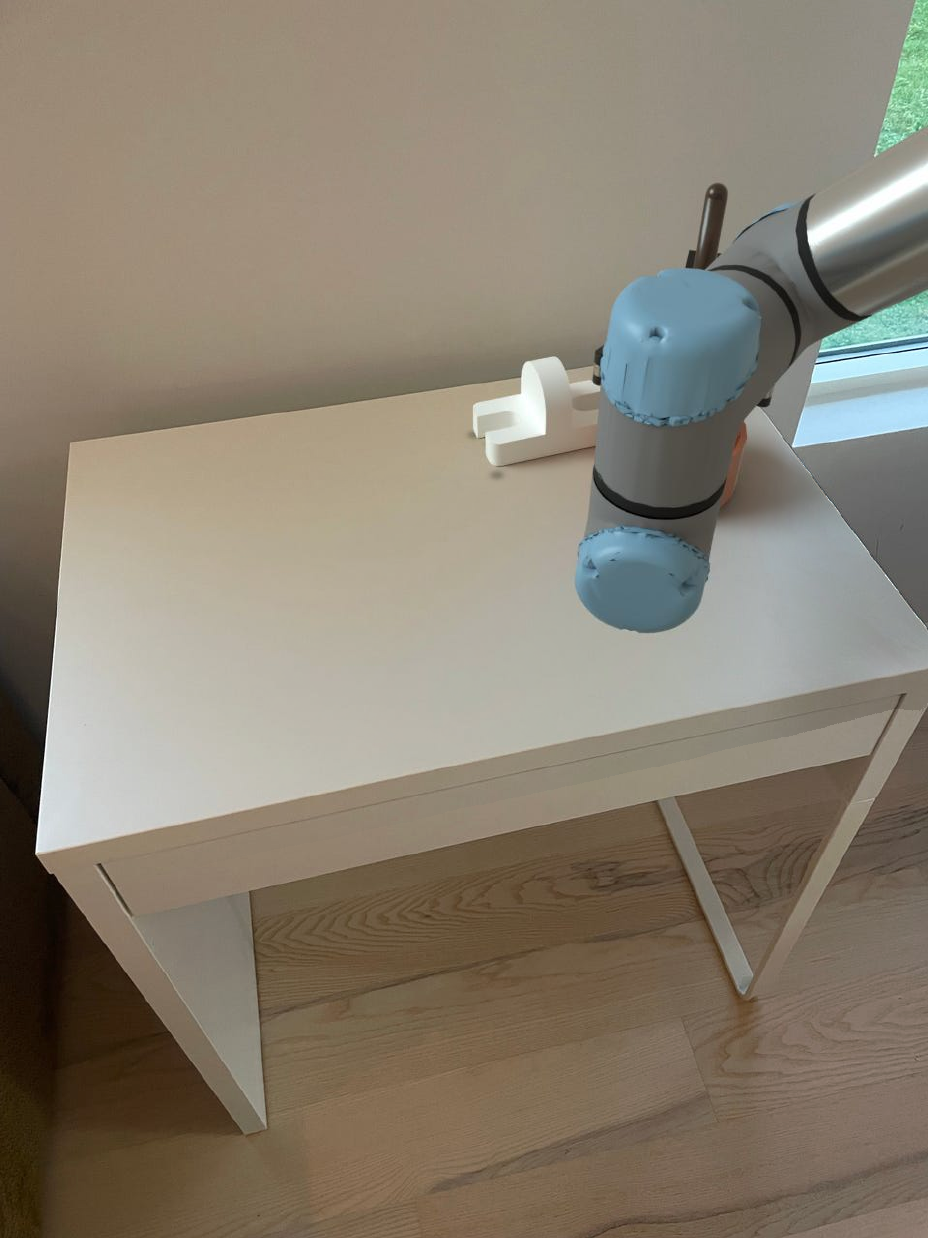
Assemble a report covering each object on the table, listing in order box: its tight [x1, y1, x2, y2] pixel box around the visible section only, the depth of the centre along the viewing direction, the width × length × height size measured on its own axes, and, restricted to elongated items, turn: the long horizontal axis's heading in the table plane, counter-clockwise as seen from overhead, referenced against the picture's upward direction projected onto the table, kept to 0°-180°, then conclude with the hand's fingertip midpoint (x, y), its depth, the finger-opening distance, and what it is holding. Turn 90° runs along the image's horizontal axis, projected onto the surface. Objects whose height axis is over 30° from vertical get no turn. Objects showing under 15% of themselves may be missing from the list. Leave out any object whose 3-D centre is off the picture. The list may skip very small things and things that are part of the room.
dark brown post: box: [693, 182, 729, 270], centre depth 77 cm, size 5×5×19 cm
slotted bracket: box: [472, 355, 601, 467], centre depth 92 cm, size 13×7×8 cm, turn 107°
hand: (705, 267), depth 80 cm, fingers closed on dark brown post, 2 cm apart
